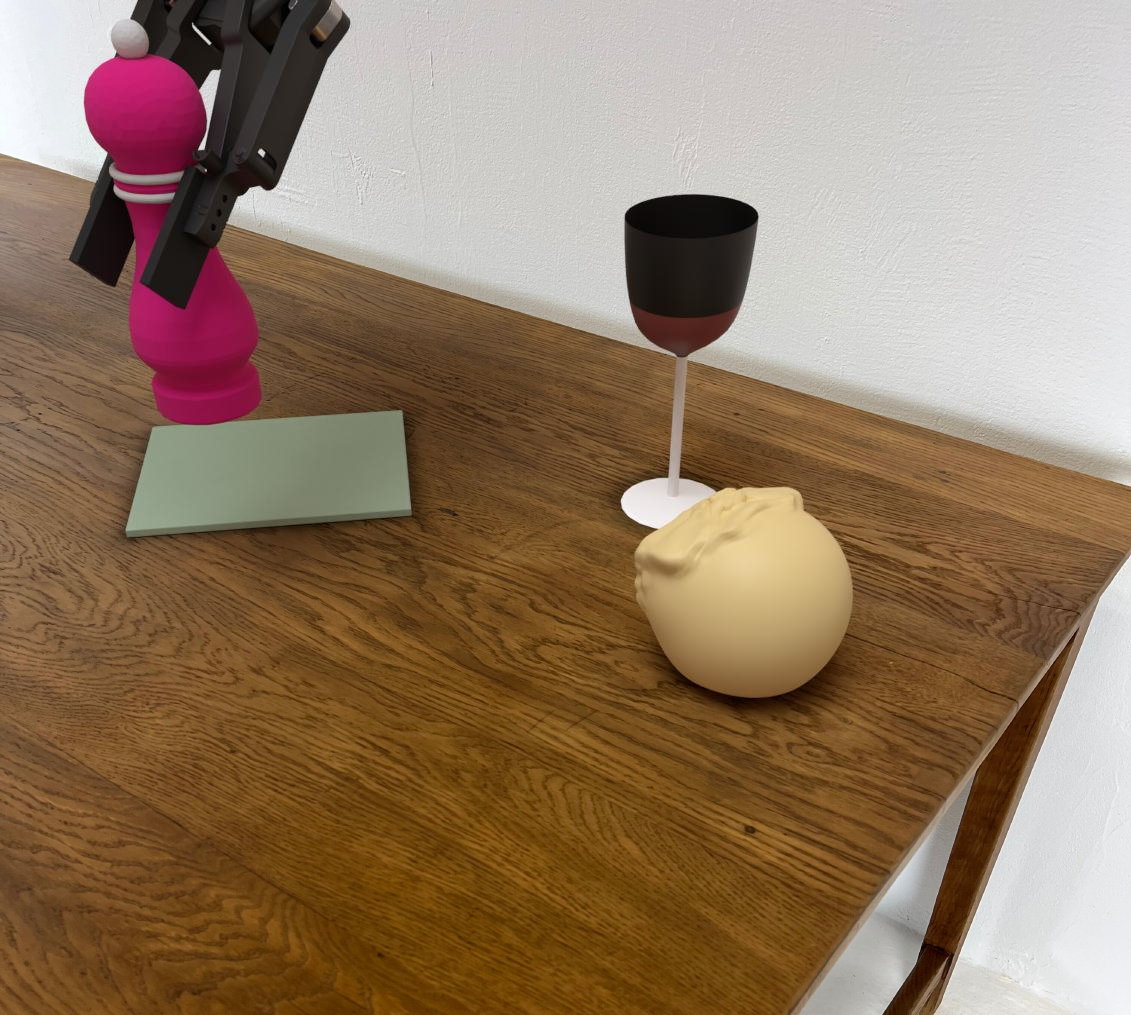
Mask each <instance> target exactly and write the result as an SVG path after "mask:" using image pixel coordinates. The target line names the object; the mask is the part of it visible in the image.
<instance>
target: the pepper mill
mask: <svg viewBox="0 0 1131 1015" xmlns="http://www.w3.org/2000/svg"><path fill="white" fill-rule="evenodd" d="M110 41H111V45H112V47H113V49H114V50H115V53H116V52H117V53H118V54H119V55H120V56H118V57H115V56H114V57H115V58H114V57H112V58H109V59H107V60H106V61H104V62H102V63H101V64H99V66H97V67H96V68H95V69H94V70H93V71H92V73H91V74H90V76H89V77H88V79H87V82H86V85H85V87H84V93H83V109H84V117H85V122H86V125H87V128H88V131H89V133H90V134H91V136H92V138H93V139H94V141H95V142H96V143H97V145H98V146H99V147H100V148H101V149H102V150H103V151H105V152H106V154H107V153H108V154H109V155H110V156H111V157H112V158H113V159H114V161H115V162H113V163H112V164H111V166H110V167H109V173H110V175H111V176H112V177H113V178H114V179H113V180H114V184H115V185H114V192H115V194H116V195H117V196H118V197H119V198H121V199H123V200H125V203H126V206H127V209H128V212H129V215H130V218H131V220H132V225H133V231H134V237H135V240H134V243H135V263H134V264H135V265H134V272H133V279H132V286H131V291H130V295H129V302H128V329H129V335H130V342H131V345H132V349H133V351H134V354H136V356H137V357H138V359H140V361H142V362H143V363H144V364H145V366H147V367H148V368H150V369H151V370H152V371H154V372H155V374H154V375H153V376H152V378H151V382H150V385H151V389H152V393H153V397H154V400H155V405H156V408H157V411H158V412H159V413H160V415H161V416H162V417H163V418H165V419H167V420H169V421H170V422H173V423H176V424H179V425H213V424H219V423H225V422H232V421H236V420H238V419H241V418H243V417H245V416H247V415H249V414H250V413H252V412H253V411H254V410H255V409H257V407H259V405H260V404H261V401H262V398H263V392H262V388H261V380H260V376H259V372H258V368H257V367H256V366H255V365H254V364H253V362H251V361H250V359H251V357H252V355H253V354H254V352H255V351H256V348H257V347H258V346H257V345H258V343H259V339H260V338H259V337H260V334H259V332H260V330H259V326H258V323H257V322H258V321H257V319H256V315H255V312H254V309H253V307H252V305H251V302H250V300H249V299H248V296H247V294H246V292H245V291H244V289H243V288H242V286H241V284H240V283H239V282H238V280H237V278H236V277H235V275H234V274H233V272H232V271H231V270H230V268H229V267H228V265H227V263H226V262H225V260H224V258H223V256H222V254H221V253H220V251H219V248H218V246H217V245H216V246H215V248H214V249H212V248H210V250H209V253H208V255H207V258H206V260H205V263H204V265H203V267H202V270H201V272H200V275H199V277H198V280H197V282H196V285H195V287H194V289H193V292H192V294H191V297H190V299H189V302H188V304H187V307H186V309H185V310H184V309H181V308H178V307H175V306H174V305H172V304H171V303H169V302H168V301H166V300H165V299H163V298H162V297H160V296H159V295H157V294H156V293H155V292H153V291H152V290H150V289H149V288H147V287H146V286H144V285H143V284H141V283H140V282H139V281H140V278H141V276H142V274H143V271H144V269H145V266H146V264H147V261H148V259H149V256H150V254H151V251H152V249H153V246H154V244H155V242H156V239H157V237H158V234H159V232H160V229H161V227H162V224H163V222H164V219H165V217H166V214H167V212H168V210H169V207H170V205H171V202H172V200H173V197H174V195H175V192H176V190H177V187H178V185H179V182H180V180H181V178H182V175H183V173H184V170H185V168H186V165H189V166H193V167H197V168H198V169H199V170H200V171H201V172H203V173H204V174H205V173H206V171H207V170H206V169H205V168H204V167H202V166H201V165H200V164H199V163H198V162H197V161H196V160H194V159H193V157H192V151H195V152H196V150H200V147H201V145H202V143H203V141H204V139H205V137H206V135H207V132H208V129H207V128H208V115H207V109H206V107H205V103H204V99H203V95H202V93H201V91H200V90H198V88H197V86H196V84H195V82H194V81H193V80H192V78H191V77H190V76H189V75H188V73H187V72H186V71H184V70H183V69H182V68H181V67H180V66H178V65H177V64H175V63H173V62H171V61H169V60H167V59H165V58H162V57H158V56H155V55H150V54H147V51H148V47H149V40H148V36H147V33H146V31H145V30H144V28H143V27H142V26H141V25H140V24H139V23H137V22H136V21H134V20H131V19H130V18H121V19H120V20H118V21H116V22H115V24H114V25H113V26H112V28H111V31H110Z"/></svg>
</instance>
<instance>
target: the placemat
mask: <svg viewBox="0 0 1131 1015" xmlns="http://www.w3.org/2000/svg"><path fill="white" fill-rule="evenodd" d="M407 457H408V456H407V446H406V435H405V425H404V413H403V410H402V409H399V410H385V411H368V412H354V413H353V412H352V413H338V414H324V415H322V414H321V415H308V416H294V417H280V418H279V417H278V418H263V419H250V420H249V419H248V420H232V421H228V422H225V423H219V424H213V425H185V424H175V425H174V424H173V425H158V426H152V428H151V432H150V436H149V439H148V443H147V448H146V451H145V455H144V458H143V463H142V466H141V470H140V472H139V473H140V475H139V478H138V481H137V484H136V489H135V493H134V497H133V500H132V504H131V508H130V512H129V516H128V519H127V523H126V526H125V531H124V532H125V534H126V537H127V538H139V537H153V536H165V535H166V536H167V535H180V534H193V533H202V532H204V533H206V532H218V531H230V530H246V529H258V528H269V527H271V528H272V527H282V526H296V525H310V524H311V525H312V524H321V523H322V524H323V523H335V522H336V523H337V522H347V521H362V520H374V519H388V518H400V517H401V518H402V517H411V516H413V512H412V503H411V502H412V501H411V489H410V479H409V478H410V477H409V467H408V458H407Z"/></svg>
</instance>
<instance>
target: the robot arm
mask: <svg viewBox="0 0 1131 1015" xmlns="http://www.w3.org/2000/svg"><path fill="white" fill-rule="evenodd" d="M129 19H131V20H134V21H136V22H137V23H139V24H140V25H141V26H142V27H143V28H144V30H145V31H146V33H147V36H148V40H149V47H148V51H147V54H150V55H155V56H158V57H162V58H165V59H167V60H169V61H171V62H173V63H175V64H177V65H178V66H180V67H181V68H182V69H183V70H184V71H186V72H187V73H188V75H189V76H190V77H191V78H192V80H193V81H194V82H195V84H196V86H197V88H198V90H199V91H200V90H201V88H202V87H203V85H204V84H205V82H206V81H207V79H208V77H209V76H210V74H211V72H213V71H219V77H218V81H217V86H216V91H215V95H214V100H213V104H212V111H211V114H210V120H209V125H208V129H207V133H206V139H205V144H204V149H198V150H196V152H195V151H192V157H193V159H194V160H196V161H197V162H198V163H199V164H200V165H201V166H202V167H204V168H205V170H206V173H205V174H204V173H203V172H201V171H200V170H199V169H198V168H197V167H193V166H189V165H186V168H185V170H184V173H183V175H182V178H181V180H180V182H179V185H178V187H177V190H176V192H175V195H174V197H173V200H172V202H171V205H170V207H169V210H168V212H167V214H166V217H165V219H164V222H163V224H162V227H161V229H160V232H159V234H158V237H157V239H156V242H155V244H154V246H153V249H152V251H151V254H150V256H149V259H148V261H147V264H146V266H145V269H144V271H143V274H142V276H141V278H140V281H139V282H140V283H141V284H143V285H144V286H146V287H147V288H149V289H150V290H152V291H153V292H155V293H156V294H157V295H159V296H160V297H162V298H163V299H165V300H166V301H168V302H169V303H171V304H172V305H174V306H175V307H178V308H181V309H184V310H185V309H186V307H187V304H188V302H189V299H190V297H191V294H192V292H193V289H194V287H195V285H196V282H197V280H198V277H199V275H200V272H201V270H202V267H203V265H204V263H205V260H206V258H207V255H208V253H209V250H210V248H212V249H214V248H215V246H217V245H218V244H219V243H220V241H221V239H222V237H223V234H224V232H225V231H224V230H225V229H226V227H227V223H228V221H229V219H230V217H231V214H232V212H233V210H234V207H235V204H236V203H237V200H238V198H239V197H242V196H244V195H245V194H247V192H248V191H249V189H252V188H256V187H257V188H258V187H260V188H261V189H262V190H264V191H266V192H270V191H273V190H274V189H275V188H276V187H277V186H278V184H279V183H280V180H281V178H282V175H283V173H284V170H285V168H286V165H287V162H288V160H289V157H290V156H291V153H292V150H293V147H294V145H295V143H296V140H297V138H298V136H299V132H300V130H301V128H302V125H303V122H304V120H305V117H306V115H307V112H308V111H309V108H310V105H311V102H312V100H313V97H314V95H315V92H316V90H317V87H318V86H319V83H320V81H321V77H322V75H323V72H324V70H325V67H326V65H327V62H328V60H329V58H330V57H331V56H332V54H333V53H334V51H335V50H336V48H337V47H338V46H339V44H340V43H341V42H342V40H344V38H345V36H346V35H347V34H348V32H349V30H350V28H351V24H352V23H351V19H350V17H349V16H348V15H347V14H346V12H345V10H343V8H342V7H341V6H340V4H339V3H338V2H337V1H336V0H137V1H136V3H135V6H134V8H133V10H132V13H131V15H130V18H129ZM194 27H195V28H196V29H197V30H198V32H200V33H198V32H197V31H196V30H195V28H194ZM200 34H201V35H203V37H205V38H206V40H208V42H209V43H210V44H209V43H208V42H207V41H206V40H205V39H204V38H203V37H202V36H201V35H200ZM118 56H120V55H119V54H118V53H117V52H116V51H115V54H114V57H113V58H115V57H118ZM260 150H262V151H263V153H264V155H263V156H262V154H260V153H259V151H260ZM113 162H115V161H114V159H113V158H112V157H111V156H110V155H109V154H108V153H107V152H106V156H105V159H104V161H103V164H102V166H101V168H100V171H99V173H98V175H97V179H96V181H95V184H94V186H93V188H92V190H91V193H90V196H89V198H90V199H89V203H88V205H89V208H88V210H87V212H86V215H85V218H84V220H83V223H82V225H81V227H80V230H79V233H78V235H77V238H76V239H75V243H74V245H73V247H72V249H71V253H70V255H69V258H68V261H69V262H71V263H72V264H74V265H75V266H76V267H78V268H80V269H81V270H82V271H85V273H88V274H89V275H91V276H92V277H93V278H95V279H97V281H99V282H101V283H102V284H104V285H106V286H109V287H112V288H116V286H117V284H118V281H119V279H120V278H121V274H122V272H123V270H124V266H125V264H126V262H127V259H128V257H129V254H130V252H131V249H132V247H133V245H134V243H135V237H134V231H133V225H132V220H131V218H130V215H129V212H128V209H127V206H126V203H125V200H123V199H121V198H119V197H118V196H117V195H116V194H115V192H114V185H115V184H114V180H113V179H114V178H113V177H112V176H111V175H110V173H109V167H110V166H111V164H112V163H113Z"/></svg>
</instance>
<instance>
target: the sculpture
mask: <svg viewBox="0 0 1131 1015" xmlns="http://www.w3.org/2000/svg"><path fill="white" fill-rule="evenodd" d="M633 557H634V567H635V571H636V576H635V579H634V583H633V585H634V589H635V591H636V593H635V594H636V595H635V600H636V603H637V604H638V606H639V608H640V609H641V610H642V611H643V613H644V614H645V616H646V617H647V620H648V622H649V625H650V627H651V629H652V632H653V634H654V636H655V637H656V640H657V642H658V644H659V646H660V647H661V649H662V651H663V653H664V655H665V656H666V658H667V659H668V660H669V662H670V663H671V664H672V666H674V667H675V669H676V670H677V671H678V672H679V673H680V674H681V675H682V676H684V677H685V678H686V679H688V680H689V681H690V682H692V683H694V684H696V685H698V686H700V687H701V688H702V687H703V688H705V689H707V690H710V691H713V692H716V693H720V694H724V695H728V696H731V697H732V696H734V697H739V698H750V699H751V698H755V699H756V698H758V699H759V698H770V697H776V696H779V695H783V694H787V693H789V692H792V691H794V690H796V689H799V688H800V687H801V686H804V685H805V684H806V683H807V682H809V681H810V680H811V679H813V678H814V677H815V676H816V675H818V673H820V671H821V670H822V669H823V668H824V667H825V666H826V665H827V664H828V663H829V662H830V660H831V659H832V657H833V656H834V655H835V653H836V651H837V650H838V648H839V647H840V645H841V643H842V641H843V639H844V637H845V634H846V632H847V629H848V626H849V623H850V621H851V616H852V612H853V605H854V604H853V602H854V587H853V579H852V573H851V569H850V566H849V563H848V560H847V557H846V555H845V553H844V550H843V549H842V547H841V546H840V544H839V542H838V540H837V539H836V538H835V537H834V535H833V534H832V533H831V532H830V530H829V529H828V528H827V527H826V526H825V525H824V524H823V523H821V522H820V521H819V520H818V519H816V517H814V516H812V515H811V514H810V513H808V512H806V511H805V507H804V499H803V496H802V494H801V492H800V491H798V490H797V489H794V488H792V487H788V486H776V487H751V486H749V487H748V486H747V487H742V488H739V489H736V488H734V487H725V488H723V489H720V490H719V491H716V493H715V494H713V495H711V496H710V497H709V498H706V499H703V500H701V501H700V502H699V503H696V504H695V505H693V506H692V507H691V508H689V509H688V510H685V511H683V512H682V513H681V514H679V515H678V516H677V517H676V518H675V519H674V520H672V521H671V522H669V523H668V524H666V525H664V526H663V527H661V528H659V529H656V530H654V531H652V532H651V533H649V534H648V535H647V536H645V537H644V538H643V539H642V540H641V541H640V543H639V545H638V546H637V548H636V549H635V551H634V556H633Z"/></svg>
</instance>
